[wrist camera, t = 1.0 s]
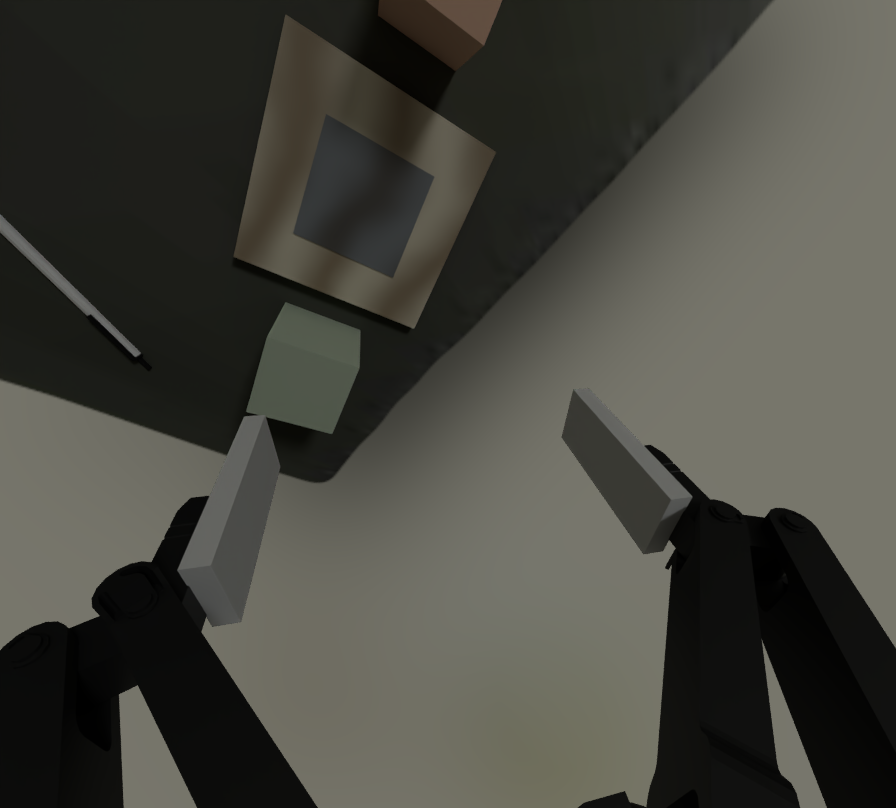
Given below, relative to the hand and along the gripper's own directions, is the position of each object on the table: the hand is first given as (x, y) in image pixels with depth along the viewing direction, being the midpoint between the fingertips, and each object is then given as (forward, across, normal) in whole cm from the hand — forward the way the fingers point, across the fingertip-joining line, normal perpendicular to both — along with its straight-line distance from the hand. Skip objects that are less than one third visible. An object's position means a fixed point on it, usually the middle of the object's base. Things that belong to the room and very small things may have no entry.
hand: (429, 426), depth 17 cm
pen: (+23, -27, +1) cm, 35 cm away
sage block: (+23, -8, -6) cm, 25 cm away
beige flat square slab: (+23, -2, +6) cm, 24 cm away
